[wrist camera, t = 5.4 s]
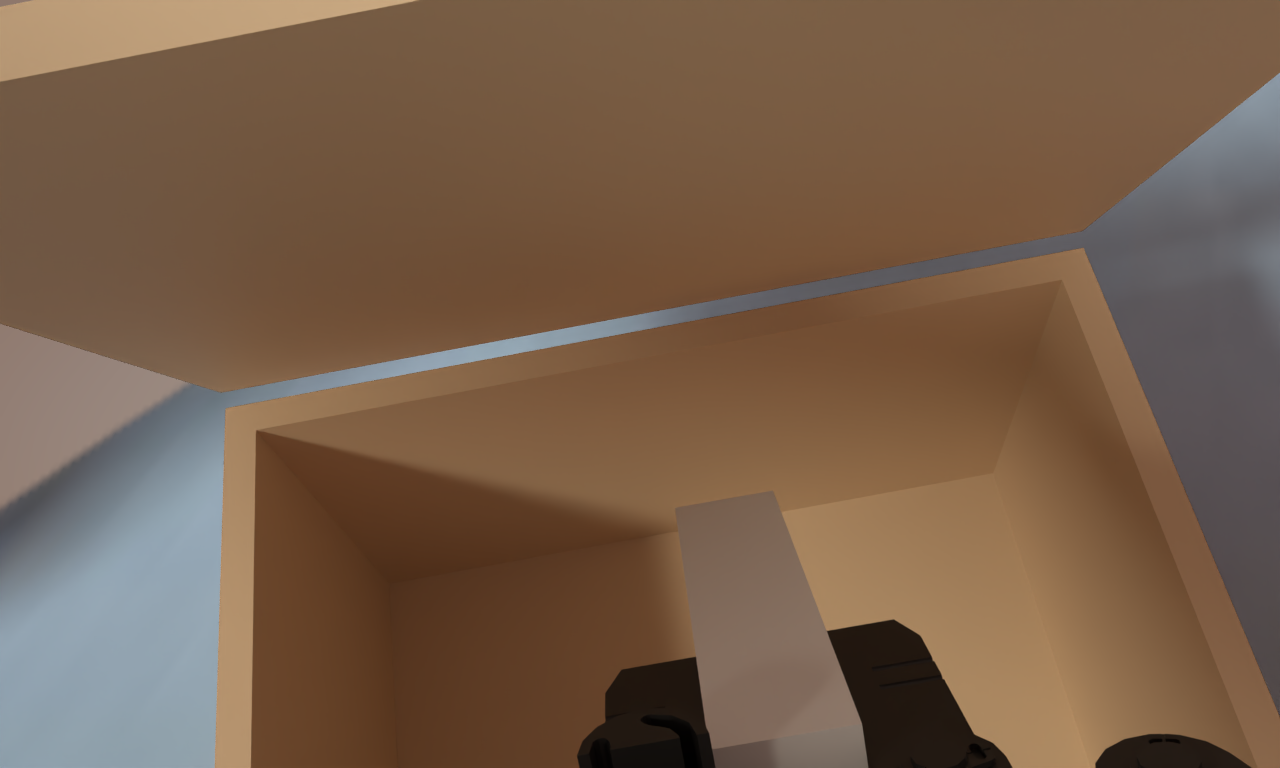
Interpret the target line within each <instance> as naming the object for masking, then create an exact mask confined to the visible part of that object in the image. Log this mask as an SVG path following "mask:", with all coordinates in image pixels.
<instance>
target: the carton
mask: <svg viewBox="0 0 1280 768" xmlns="http://www.w3.org/2000/svg"><path fill="white" fill-rule="evenodd" d="M767 491H773V492H774V494H775V497H776V500H777V502H778V505H779V507H780V510H781V513H782V515H783V518H784V521H785V523H786V526H787V528H788V531H789V534H790V536H791V539H792V542H793V544H794V547H795V549H796V552H797V555H798V557H799V560H800V563H801V565H802V568H803V570H804V573H805V576H806V578H807V581H808V584H809V586H810V589H811V591H812V594H813V597H814V599H815V602H816V605H817V607H818V610H819V612H820V615H821V618H822V620H823V623H824V625H825V628H826V631H829V630H835V629H841V628H846V627H852V626H858V625H864V624H869V623H875V622H881V621H887V620H892V619H894V620H896V621H898V622H899V623H901V624H903V625H904V626H906V627H907V628H909V629H911V630H912V631H914V632H916V633H917V634H919V635H920V636H921V637H922V639H923V641H924V643H925V645H926V647H927V648H928V650H929V652H930V654H931V656H932V659H933V661H935V663H936V665H937V667H938V669H939V670H940V672H941V674H942V678H943V679H944V680H945V682H946V683H947V685H948V687H949V689H950V691H951V693H952V694H953V696H954V698H955V700H956V702H957V704H958V705H959V707H960V709H961V711H962V713H963V715H964V716H965V718H966V720H967V722H968V724H969V726H970V727H971V729H972V731H973V733H974V734H975V735H977V736H979V737H981V738H983V739H986V740H988V741H990V742H992V743H994V744H995V745H996V746H997V747H998V748H999V749H1000V750H1001V751H1002V752H1003V753H1004V754H1005V755H1006V757H1007V759H1008V760H1009V762H1010V764H1011V766H1012V767H1013V768H1095V763H1096V761H1097V760H1098V759H1099V757H1100V756H1101V754H1102V753H1103V752H1104V750H1105V749H1106V748H1108V747H1110V746H1112V745H1114V744H1116V743H1118V742H1120V741H1122V740H1123V739H1127V738H1132V737H1137V736H1142V735H1147V734H1175V735H1182V736H1187V737H1191V738H1195V739H1200V740H1204V741H1207V742H1209V743H1211V744H1213V745H1216V746H1218V747H1220V748H1222V749H1224V750H1226V751H1228V752H1230V753H1231V754H1233V755H1234V756H1236V757H1237V758H1238V759H1240V760H1241V761H1243V762H1244V763H1246V764H1247V765H1249V766H1250V767H1251V768H1280V716H1279V714H1278V712H1277V709H1276V707H1275V704H1274V702H1273V700H1272V697H1271V695H1270V692H1269V690H1268V688H1267V685H1266V683H1265V680H1264V678H1263V676H1262V673H1261V671H1260V669H1259V666H1258V664H1257V661H1256V659H1255V657H1254V654H1253V652H1252V649H1251V647H1250V645H1249V642H1248V640H1247V637H1246V635H1245V633H1244V630H1243V628H1242V626H1241V623H1240V621H1239V618H1238V616H1237V614H1236V611H1235V609H1234V606H1233V604H1232V602H1231V599H1230V597H1229V594H1228V592H1227V590H1226V587H1225V585H1224V582H1223V580H1222V578H1221V575H1220V573H1219V571H1218V568H1217V566H1216V563H1215V561H1214V559H1213V556H1212V554H1211V551H1210V549H1209V547H1208V544H1207V542H1206V539H1205V537H1204V535H1203V532H1202V530H1201V528H1200V525H1199V523H1198V520H1197V518H1196V516H1195V513H1194V511H1193V508H1192V506H1191V504H1190V501H1189V499H1188V496H1187V494H1186V492H1185V489H1184V487H1183V484H1182V482H1181V480H1180V477H1179V475H1178V473H1177V470H1176V468H1175V465H1174V463H1173V461H1172V458H1171V456H1170V453H1169V451H1168V449H1167V446H1166V444H1165V441H1164V439H1163V437H1162V434H1161V432H1160V430H1159V427H1158V425H1157V422H1156V420H1155V418H1154V415H1153V413H1152V410H1151V408H1150V406H1149V403H1148V401H1147V398H1146V396H1145V394H1144V391H1143V389H1142V387H1141V384H1140V382H1139V379H1138V377H1137V375H1136V372H1135V370H1134V367H1133V365H1132V363H1131V360H1130V358H1129V355H1128V353H1127V351H1126V348H1125V346H1124V343H1123V341H1122V339H1121V336H1120V334H1119V332H1118V329H1117V327H1116V324H1115V322H1114V320H1113V317H1112V315H1111V312H1110V310H1109V308H1108V305H1107V303H1106V300H1105V298H1104V296H1103V293H1102V291H1101V289H1100V286H1099V284H1098V281H1097V279H1096V277H1095V274H1094V272H1093V269H1092V267H1091V265H1090V262H1089V260H1088V257H1087V255H1086V253H1085V250H1084V248H1080V249H1074V250H1069V251H1064V252H1058V253H1053V254H1048V255H1042V256H1037V257H1032V258H1026V259H1021V260H1016V261H1010V262H1005V263H1000V264H994V265H989V266H983V267H978V268H973V269H967V270H962V271H957V272H951V273H946V274H941V275H935V276H930V277H925V278H919V279H914V280H909V281H903V282H898V283H893V284H887V285H882V286H877V287H871V288H866V289H861V290H855V291H850V292H845V293H839V294H834V295H829V296H823V297H818V298H813V299H807V300H802V301H796V302H791V303H786V304H780V305H775V306H770V307H764V308H759V309H754V310H748V311H743V312H738V313H732V314H727V315H722V316H716V317H711V318H706V319H700V320H695V321H690V322H684V323H679V324H674V325H668V326H663V327H658V328H652V329H647V330H642V331H636V332H631V333H626V334H620V335H615V336H609V337H604V338H599V339H593V340H588V341H583V342H577V343H572V344H567V345H561V346H556V347H551V348H545V349H540V350H535V351H529V352H524V353H519V354H513V355H508V356H503V357H497V358H492V359H487V360H481V361H476V362H471V363H465V364H460V365H455V366H449V367H444V368H439V369H433V370H428V371H422V372H417V373H412V374H406V375H401V376H396V377H390V378H385V379H380V380H374V381H369V382H364V383H358V384H353V385H348V386H342V387H337V388H332V389H326V390H321V391H316V392H310V393H305V394H300V395H294V396H289V397H284V398H278V399H273V400H268V401H262V402H257V403H252V404H246V405H241V406H235V407H230V408H226V411H225V445H224V478H223V512H222V545H221V579H220V612H219V646H218V679H217V713H216V746H215V768H579V763H578V759H577V754H578V751H579V749H580V746H581V743H582V741H583V740H584V739H585V738H586V737H587V736H588V735H589V734H590V733H591V732H592V731H593V730H594V729H595V728H596V727H598V726H599V725H601V724H603V723H605V721H606V720H605V693H606V691H607V690H608V688H609V687H610V685H611V684H612V683H613V681H614V680H615V678H616V677H617V675H618V674H619V672H620V671H621V670H622V669H627V668H633V667H639V666H645V665H650V664H656V663H662V662H668V661H674V660H679V659H685V658H691V657H696V653H695V646H694V639H693V632H692V625H691V618H690V611H689V604H688V597H687V590H686V583H685V575H684V568H683V561H682V554H681V547H680V540H679V533H678V526H677V519H676V512H675V508H677V507H683V506H688V505H694V504H700V503H705V502H711V501H717V500H722V499H728V498H734V497H739V496H745V495H751V494H756V493H762V492H767Z"/></svg>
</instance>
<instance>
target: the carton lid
mask: <svg viewBox="0 0 1280 768" xmlns="http://www.w3.org/2000/svg"><path fill="white" fill-rule="evenodd" d="M1279 73H1280V0H33V1H28V2H23V3H18V4H13V5H7V6H2V7H0V324H3V325H6V326H9V327H13V328H16V329H19V330H22V331H25V332H29V333H32V334H35V335H38V336H42V337H45V338H48V339H51V340H54V341H57V342H61V343H64V344H67V345H70V346H74V347H77V348H80V349H83V350H87V351H90V352H93V353H96V354H99V355H102V356H105V357H109V358H112V359H115V360H119V361H121V362H125V363H128V364H131V365H134V366H137V367H141V368H144V369H147V370H150V371H154V372H157V373H160V374H163V375H166V376H169V377H173V378H176V379H179V380H182V381H185V382H189V383H192V384H195V385H198V386H201V387H205V388H208V389H211V390H214V391H217V392H221V393H222V392H227V391H233V390H238V389H243V388H249V387H254V386H259V385H265V384H270V383H275V382H281V381H286V380H291V379H297V378H302V377H307V376H313V375H318V374H323V373H329V372H334V371H339V370H345V369H350V368H355V367H361V366H366V365H371V364H377V363H382V362H387V361H393V360H398V359H403V358H409V357H414V356H419V355H425V354H430V353H435V352H441V351H446V350H451V349H457V348H462V347H467V346H473V345H478V344H483V343H489V342H494V341H499V340H505V339H510V338H515V337H521V336H526V335H531V334H537V333H542V332H547V331H553V330H558V329H563V328H569V327H574V326H579V325H585V324H590V323H595V322H601V321H606V320H611V319H617V318H622V317H627V316H633V315H638V314H643V313H649V312H654V311H659V310H665V309H670V308H675V307H681V306H686V305H691V304H697V303H702V302H707V301H713V300H718V299H723V298H729V297H734V296H739V295H745V294H750V293H755V292H761V291H766V290H771V289H777V288H782V287H787V286H793V285H798V284H803V283H809V282H814V281H819V280H825V279H830V278H835V277H841V276H846V275H851V274H857V273H862V272H867V271H873V270H878V269H883V268H889V267H894V266H899V265H905V264H910V263H915V262H921V261H926V260H931V259H937V258H942V257H947V256H953V255H958V254H963V253H969V252H974V251H979V250H985V249H990V248H995V247H1001V246H1006V245H1011V244H1017V243H1022V242H1027V241H1033V240H1038V239H1043V238H1049V237H1054V236H1059V235H1065V234H1070V233H1075V232H1081V231H1083V230H1084V229H1086V228H1087V227H1088V226H1089V225H1091V224H1092V223H1093V222H1094V221H1096V220H1097V219H1098V218H1099V217H1101V216H1102V215H1103V214H1104V213H1105V212H1107V211H1108V210H1109V209H1110V208H1112V207H1113V206H1114V205H1115V204H1117V203H1118V202H1119V201H1120V200H1122V199H1123V198H1124V197H1125V196H1127V195H1128V194H1129V193H1130V192H1132V191H1133V190H1134V189H1135V188H1137V187H1138V186H1139V185H1140V184H1142V183H1143V182H1144V181H1145V180H1147V179H1148V178H1149V177H1150V176H1152V175H1153V174H1154V173H1155V172H1157V171H1158V170H1159V169H1160V168H1162V167H1163V166H1164V165H1165V164H1167V163H1168V162H1169V161H1170V160H1171V159H1173V158H1174V157H1175V156H1176V155H1178V154H1179V153H1180V152H1181V151H1183V150H1184V149H1185V148H1186V147H1188V146H1189V145H1190V144H1191V143H1193V142H1194V141H1195V140H1196V139H1198V138H1199V137H1200V136H1201V135H1203V134H1204V133H1205V132H1206V131H1208V130H1209V129H1210V128H1211V127H1213V126H1214V125H1215V124H1216V123H1218V122H1219V121H1220V120H1221V119H1223V118H1224V117H1225V116H1226V115H1228V114H1229V113H1230V112H1231V111H1233V110H1234V109H1235V108H1236V107H1237V106H1239V105H1240V104H1241V103H1242V102H1244V101H1245V100H1246V99H1247V98H1249V97H1250V96H1251V95H1252V94H1254V93H1255V92H1256V91H1257V90H1259V89H1260V88H1261V87H1262V86H1264V85H1265V84H1266V83H1267V82H1269V81H1270V80H1271V79H1272V78H1274V77H1275V76H1276V75H1277V74H1279Z"/></svg>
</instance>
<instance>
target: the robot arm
mask: <svg viewBox="0 0 1280 768" xmlns="http://www.w3.org/2000/svg"><path fill="white" fill-rule="evenodd" d="M675 512H676V519H677V526H678V533H679V540H680V547H681V554H682V561H683V568H684V575H685V583H686V590H687V597H688V604H689V611H690V618H691V625H692V632H693V639H694V646H695V653H696V657H691V658H685V659H679V660H674V661H668V662H662V663H656V664H650V665H645V666H639V667H633V668H627V669H622V670H621V671H620V672H619V674H618V675H617V677H616V678H615V680H614V681H613V683H612V684H611V685H610V687H609V688H608V690H607V691H606V693H605V720H606V721H605V723H603V724H601V725H599V726H598V727H596V728H595V729H594V730H593V731H592V732H591V733H590V734H589V735H588V736H587V737H586V738H585V739H584V740H583V741H582V743H581V746H580V749H579V751H578V754H577V759H578V763H579V768H1013V767H1012V766H1011V764H1010V762H1009V760H1008V759H1007V757H1006V755H1005V754H1004V753H1003V752H1002V751H1001V750H1000V749H999V748H998V747H997V746H996V745H995V744H994V743H992V742H990V741H988V740H986V739H983V738H981V737H979V736H977V735H975V734H974V733H973V731H972V729H971V727H970V726H969V724H968V722H967V720H966V718H965V716H964V715H963V713H962V711H961V709H960V707H959V705H958V704H957V702H956V700H955V698H954V696H953V694H952V693H951V691H950V689H949V687H948V685H947V683H946V682H945V680H944V679H943V678H942V674H941V672H940V670H939V669H938V667H937V665H936V663H935V661H933V659H932V656H931V654H930V652H929V650H928V648H927V647H926V645H925V643H924V641H923V639H922V637H921V636H920V635H919V634H917V633H916V632H914V631H912V630H911V629H909V628H907V627H906V626H904V625H903V624H901V623H899V622H898V621H896V620H894V619H892V620H887V621H881V622H875V623H869V624H864V625H858V626H852V627H846V628H841V629H835V630H829V631H826V628H825V625H824V623H823V620H822V618H821V615H820V612H819V610H818V607H817V605H816V602H815V599H814V597H813V594H812V591H811V589H810V586H809V584H808V581H807V578H806V576H805V573H804V570H803V568H802V565H801V563H800V560H799V557H798V555H797V552H796V549H795V547H794V544H793V542H792V539H791V536H790V534H789V531H788V528H787V526H786V523H785V521H784V518H783V515H782V513H781V510H780V507H779V505H778V502H777V500H776V497H775V494H774V492H773V491H767V492H762V493H756V494H751V495H745V496H739V497H734V498H728V499H722V500H717V501H711V502H705V503H700V504H694V505H688V506H683V507H677V508H675ZM1095 768H1251V767H1250V766H1249V765H1247V764H1246V763H1244V762H1243V761H1241V760H1240V759H1238V758H1237V757H1236V756H1234V755H1233V754H1231V753H1230V752H1228V751H1226V750H1224V749H1222V748H1220V747H1218V746H1216V745H1213V744H1211V743H1209V742H1207V741H1204V740H1200V739H1195V738H1191V737H1187V736H1182V735H1175V734H1147V735H1142V736H1137V737H1132V738H1127V739H1123V740H1122V741H1120V742H1118V743H1116V744H1114V745H1112V746H1110V747H1108V748H1106V749H1105V750H1104V752H1103V753H1102V754H1101V756H1100V757H1099V759H1098V760H1097V761H1096V763H1095Z"/></svg>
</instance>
